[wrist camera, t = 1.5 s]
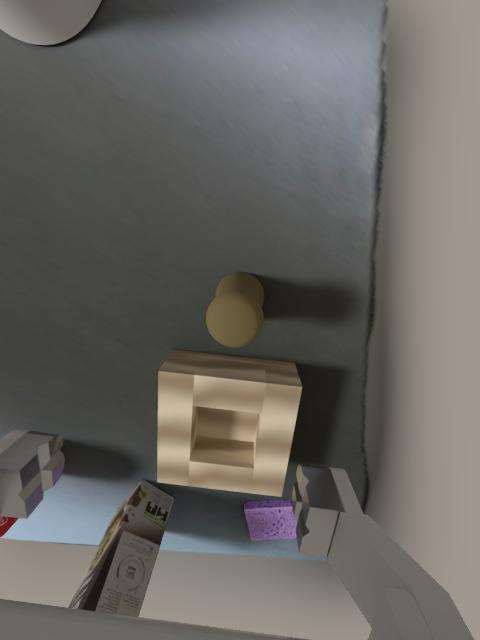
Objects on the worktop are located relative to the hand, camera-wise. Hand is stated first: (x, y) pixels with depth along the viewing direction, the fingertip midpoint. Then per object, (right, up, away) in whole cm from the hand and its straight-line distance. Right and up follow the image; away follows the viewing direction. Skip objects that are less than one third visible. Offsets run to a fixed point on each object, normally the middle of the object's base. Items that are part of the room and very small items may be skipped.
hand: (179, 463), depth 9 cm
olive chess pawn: (+2, +8, +25) cm, 26 cm away
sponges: (+9, -26, +35) cm, 45 cm away
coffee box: (-13, -25, +36) cm, 45 cm away
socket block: (0, -7, +29) cm, 30 cm away
